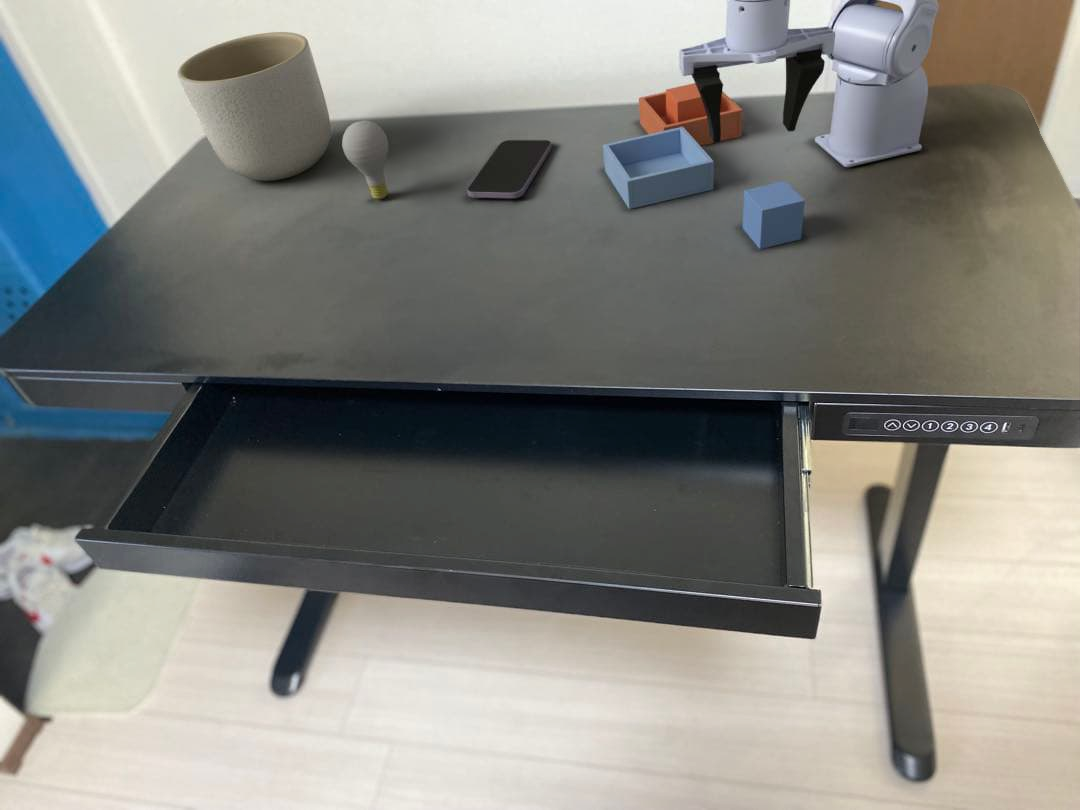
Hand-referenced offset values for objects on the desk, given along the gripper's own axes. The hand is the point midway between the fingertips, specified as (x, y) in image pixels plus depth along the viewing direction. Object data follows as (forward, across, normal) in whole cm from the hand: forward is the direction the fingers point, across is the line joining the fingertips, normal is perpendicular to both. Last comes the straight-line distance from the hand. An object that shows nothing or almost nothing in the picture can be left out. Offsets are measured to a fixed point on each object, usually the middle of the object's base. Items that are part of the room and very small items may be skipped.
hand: (751, 132), depth 82 cm
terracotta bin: (+8, -3, +21) cm, 23 cm away
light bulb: (+9, -43, +14) cm, 46 cm away
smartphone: (+9, -26, +16) cm, 32 cm away
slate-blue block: (+8, +1, -6) cm, 11 cm away
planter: (+9, -59, +29) cm, 66 cm away
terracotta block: (+8, -3, +21) cm, 23 cm away
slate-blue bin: (+8, -9, +9) cm, 15 cm away
